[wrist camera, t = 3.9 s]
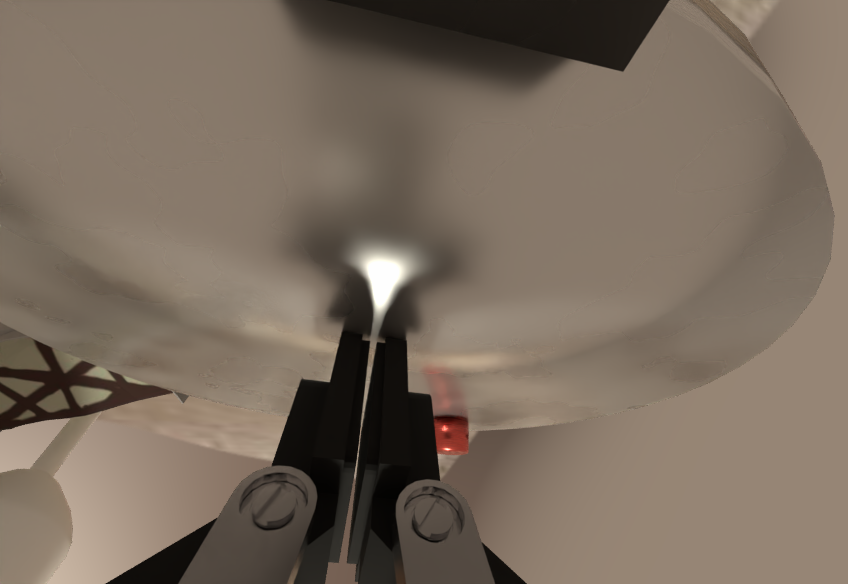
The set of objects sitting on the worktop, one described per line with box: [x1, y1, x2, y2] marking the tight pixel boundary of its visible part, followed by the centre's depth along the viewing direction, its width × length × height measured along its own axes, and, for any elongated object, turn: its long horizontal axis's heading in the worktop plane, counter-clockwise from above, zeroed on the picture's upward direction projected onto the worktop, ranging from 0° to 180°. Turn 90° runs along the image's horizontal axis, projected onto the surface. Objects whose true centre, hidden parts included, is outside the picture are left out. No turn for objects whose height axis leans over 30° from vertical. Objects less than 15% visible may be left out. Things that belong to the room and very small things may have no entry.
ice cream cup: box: [0, 322, 189, 432], centre depth 24 cm, size 12×6×10 cm, turn 103°
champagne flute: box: [0, 411, 102, 584], centre depth 21 cm, size 7×7×24 cm
